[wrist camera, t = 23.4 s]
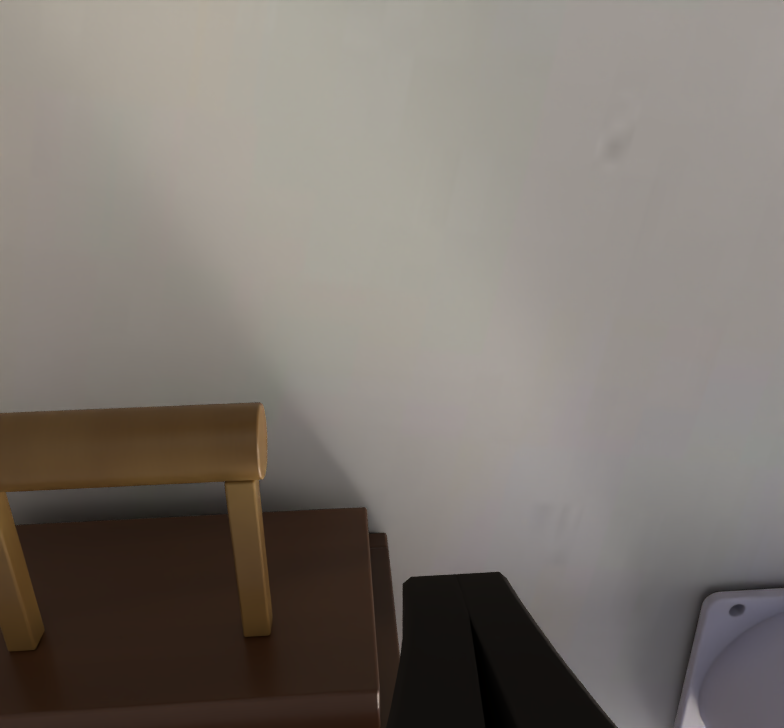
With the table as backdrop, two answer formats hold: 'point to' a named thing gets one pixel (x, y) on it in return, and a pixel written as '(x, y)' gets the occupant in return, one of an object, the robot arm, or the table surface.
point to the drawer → (178, 584)
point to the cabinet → (384, 622)
